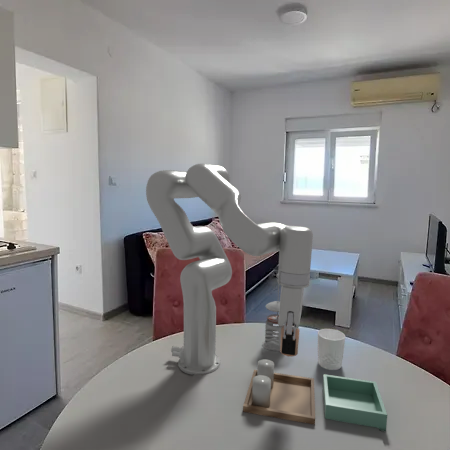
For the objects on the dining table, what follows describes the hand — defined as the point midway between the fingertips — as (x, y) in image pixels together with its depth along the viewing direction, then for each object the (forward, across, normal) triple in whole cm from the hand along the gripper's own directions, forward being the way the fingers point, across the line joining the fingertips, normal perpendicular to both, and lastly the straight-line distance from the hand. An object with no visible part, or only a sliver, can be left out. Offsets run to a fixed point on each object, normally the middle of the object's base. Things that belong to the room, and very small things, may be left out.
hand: (288, 348), depth 83 cm
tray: (+14, 0, -1) cm, 14 cm away
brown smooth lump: (+1, 0, 0) cm, 1 cm away
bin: (+13, -1, +16) cm, 21 cm away
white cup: (+14, -20, +12) cm, 27 cm away
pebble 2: (+13, +4, -6) cm, 15 cm away
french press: (+14, -28, -4) cm, 31 cm away
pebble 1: (+13, -4, -6) cm, 15 cm away
